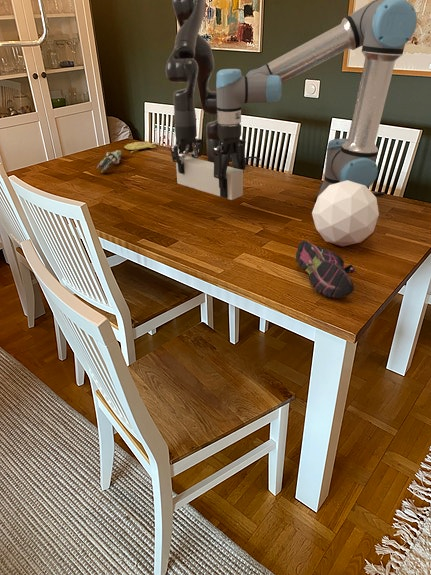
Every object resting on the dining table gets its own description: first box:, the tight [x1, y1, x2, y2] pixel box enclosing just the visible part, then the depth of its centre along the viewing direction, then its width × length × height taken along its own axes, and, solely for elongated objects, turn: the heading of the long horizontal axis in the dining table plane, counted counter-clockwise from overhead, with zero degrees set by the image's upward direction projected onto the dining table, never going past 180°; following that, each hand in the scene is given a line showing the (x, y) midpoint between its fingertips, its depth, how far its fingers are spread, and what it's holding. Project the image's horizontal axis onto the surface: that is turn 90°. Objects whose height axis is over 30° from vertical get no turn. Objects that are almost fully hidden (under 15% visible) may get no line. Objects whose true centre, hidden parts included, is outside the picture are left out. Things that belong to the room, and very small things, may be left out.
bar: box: [175, 155, 244, 201], centre depth 155 cm, size 27×6×9 cm, turn 47°
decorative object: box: [124, 141, 157, 154], centre depth 239 cm, size 21×2×20 cm
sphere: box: [311, 180, 380, 248], centre depth 135 cm, size 19×20×20 cm
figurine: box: [96, 150, 123, 174], centre depth 213 cm, size 7×8×30 cm
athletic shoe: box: [295, 240, 357, 299], centre depth 118 cm, size 11×22×12 cm
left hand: (188, 171), depth 161 cm, fingers closed on bar, 5 cm apart
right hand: (230, 194), depth 151 cm, fingers closed on bar, 6 cm apart
